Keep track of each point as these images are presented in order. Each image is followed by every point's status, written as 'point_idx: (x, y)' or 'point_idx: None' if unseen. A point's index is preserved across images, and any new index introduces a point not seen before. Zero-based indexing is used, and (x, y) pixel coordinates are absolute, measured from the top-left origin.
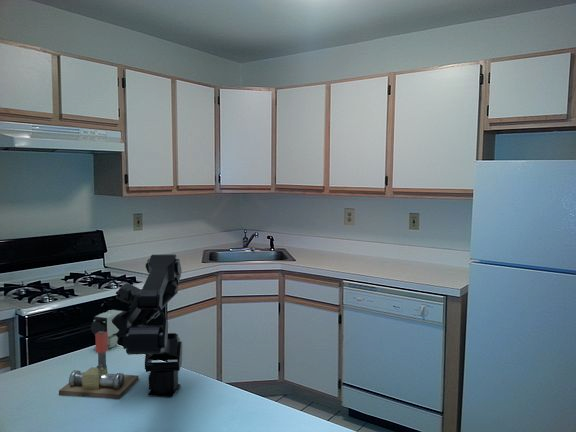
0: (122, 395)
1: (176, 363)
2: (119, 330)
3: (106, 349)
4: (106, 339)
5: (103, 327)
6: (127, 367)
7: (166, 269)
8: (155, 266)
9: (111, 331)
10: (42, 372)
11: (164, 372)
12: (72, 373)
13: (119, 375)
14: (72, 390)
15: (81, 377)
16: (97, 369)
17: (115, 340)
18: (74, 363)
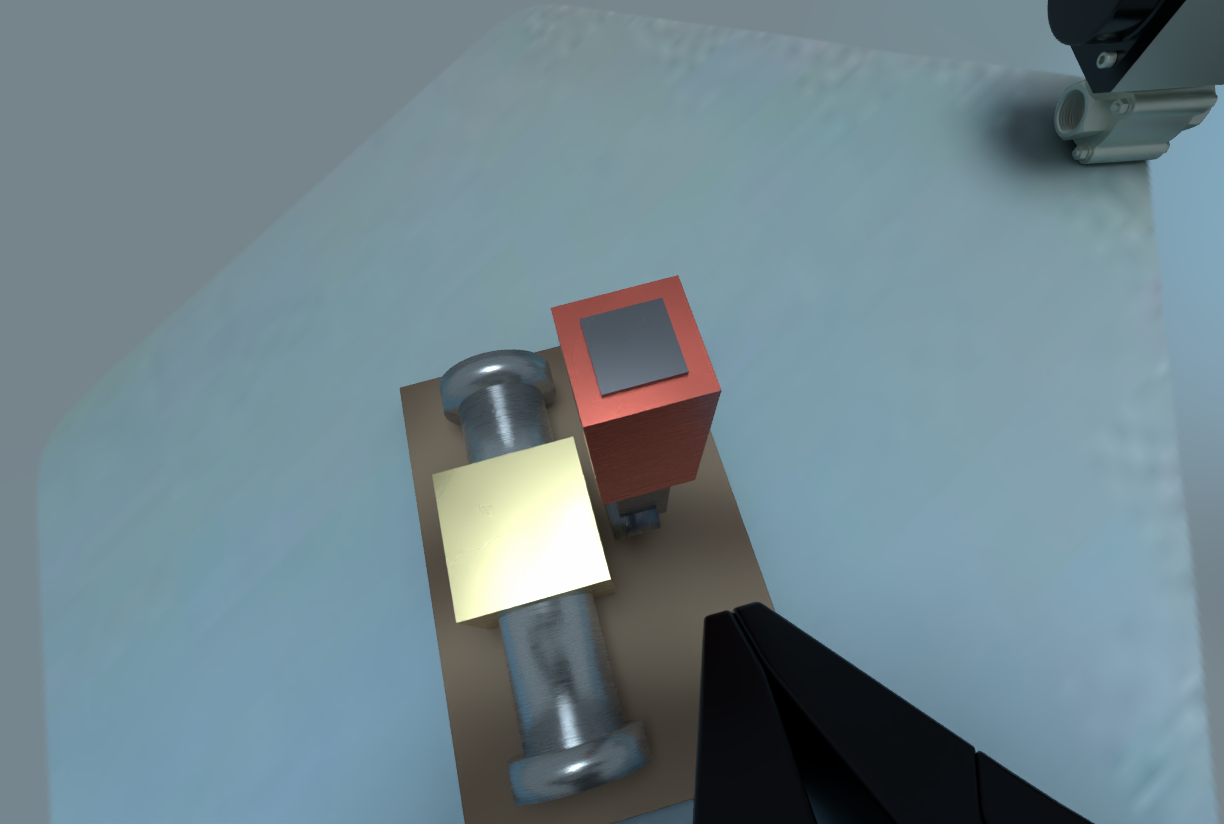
0: None
1: None
2: (701, 739)
3: (664, 484)
4: (674, 442)
5: (1138, 1)
6: (933, 491)
7: None
8: None
9: (1185, 62)
10: (610, 113)
11: None
12: (459, 373)
13: (552, 798)
14: (424, 463)
15: (471, 455)
16: (554, 518)
17: (1166, 129)
18: (782, 156)
